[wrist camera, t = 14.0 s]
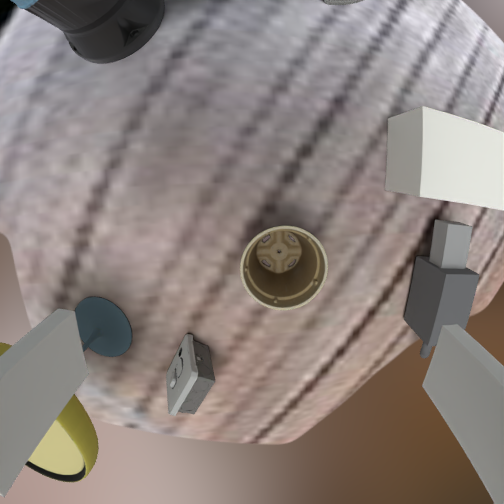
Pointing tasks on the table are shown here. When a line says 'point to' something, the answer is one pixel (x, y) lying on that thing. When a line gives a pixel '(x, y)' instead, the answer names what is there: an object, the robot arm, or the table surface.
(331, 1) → the dog bowl
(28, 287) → the table surface
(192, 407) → the electrical switch
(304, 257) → the flower pot
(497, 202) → the white rectangular block
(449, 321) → the plug
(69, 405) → the cocktail glass
